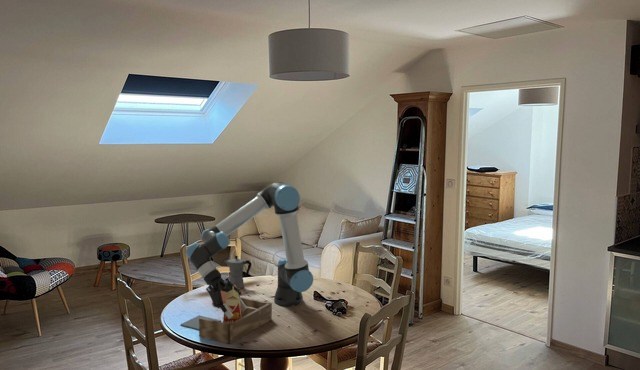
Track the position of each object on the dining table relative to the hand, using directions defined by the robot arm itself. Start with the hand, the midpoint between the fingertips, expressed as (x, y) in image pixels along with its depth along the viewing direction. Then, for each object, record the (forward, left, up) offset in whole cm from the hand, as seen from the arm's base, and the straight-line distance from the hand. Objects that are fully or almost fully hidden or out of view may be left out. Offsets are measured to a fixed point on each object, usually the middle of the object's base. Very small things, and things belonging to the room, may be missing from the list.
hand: (238, 313), depth 233 cm
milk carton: (+3, -2, -9) cm, 10 cm away
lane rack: (+1, -6, -9) cm, 11 cm away
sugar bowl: (+10, -41, -9) cm, 43 cm away
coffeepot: (+5, -66, -9) cm, 66 cm away
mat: (+18, -11, -9) cm, 23 cm away
